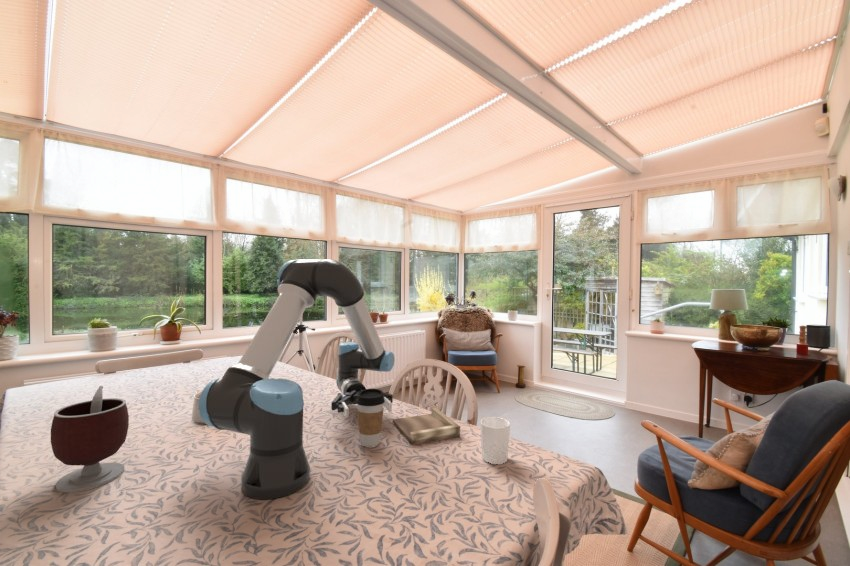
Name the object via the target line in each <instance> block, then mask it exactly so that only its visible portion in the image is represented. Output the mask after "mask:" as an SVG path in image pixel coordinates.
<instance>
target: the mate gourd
mask: <svg viewBox="0 0 850 566" xmlns="http://www.w3.org/2000/svg"><path fill="white" fill-rule="evenodd" d="M103 388H104V386H103V385H100V386H98V388H97V390H96V391H95V393H94V394H93V397H92V400H85V401H80V402H76V403H72V404H70V405H67V406H63V407H61V408H58V409H57V410H55V411H54V413H53V415H54V416H53V418H52V422H51V427H50V445H51V449H52V453H53V456H54V457H55V458H56V460H58V461H59V462H61V463H63V464H64V465H66V466H83V467H82V468H78V469H76V470H73V471H72V472H69V473H67V474H65V475H63V476H62V477H61V478H59V479H58V480H57V481H56V482H55V490H56V491H58V492H60V493H78V492H84V491H88V490H92V489H94V488H99V487H102V486H104V485H106V484H109V483H111V482H113V481H114V480H117V479H118V478H119V477H121V476H122V475H123V473H125V466H124V464H122V463H121V462H103V463H100V462H102V461H103V460H106V459H107V458H110V457H111V456H113V455H115V454H116V453H118V451H119V450H120V448H121V447H122V446H123V445H124V443H125V442H126V439H127V436H128V430H129V422H130V421H129V420H130V419H129V417H130V416H129V410H128V406H127V401H126V399H123V398H111V397H110V398H103Z"/></svg>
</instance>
